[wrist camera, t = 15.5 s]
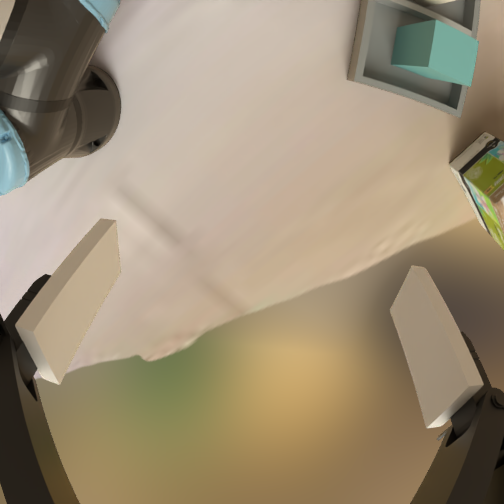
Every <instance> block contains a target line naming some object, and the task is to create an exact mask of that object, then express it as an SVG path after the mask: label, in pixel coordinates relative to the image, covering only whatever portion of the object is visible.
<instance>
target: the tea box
mask: <svg viewBox="0 0 504 504" xmlns="http://www.w3.org/2000/svg"><path fill="white" fill-rule="evenodd" d="M449 165H450V167H451V169H452V171H453V173H454V175H455V177H456V178H457V180H458V182H459V184H460V186H461V188H462V189H463V191H464V193H465V195H466V197H467V199H468V201H469V203H470V205H471V206H472V208H473V210H474V212H475V214H476V216H477V218H478V220H479V222H480V224H481V225H482V226H483V227H484V228H485V230H486V231H487V232H488V233H489V234H490V235H491V236H492V237H493V238H494V239H495V241H496V242H497V243H498V244H499V245H500V246H501V248H502V249H503V250H504V142H503V141H501V140H499V139H497V138H496V137H494V136H492V135H490V134H488V133H486V132H484V133H483V134H482V135H481V136H480V137H479V138H478V139H476V140H475V141H474V142H473V143H472V144H471V145H470V146H469V147H467V148H466V149H465V150H464V151H463V152H462V153H461V154H460V155H459V156H458V157H456V158H455V159H454V160H453V161H452V162H451V163H450V164H449Z"/></svg>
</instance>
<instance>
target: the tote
mask: <svg viewBox="0 0 504 504" xmlns="http://www.w3.org/2000/svg"><path fill="white" fill-rule="evenodd" d="M480 1H481V0H455V1H451V2H447V3H443V4H439V5H435V6H431V7H425V6H421V5H419V4H417V3H416V2H414V1H413V0H361V4H360V11H359V17H358V23H357V29H356V35H355V40H354V46H353V51H352V57H351V62H350V67H349V72H348V78H347V80H350V81H353V82H357V83H361V84H364V85H368V86H371V87H375V88H378V89H381V90H385V91H388V92H391V93H394V94H397V95H400V96H403V97H406V98H409V99H412V100H415V101H417V102H420V103H423V104H426V105H428V106H431V107H433V108H436V109H438V110H441V111H443V112H446V113H448V114H451V115H453V116H456V117H458V118H461V114H462V110H463V106H464V102H465V98H466V93H467V89H468V86H466V85H461V84H456V83H452V82H447V81H441V80H436V79H430V78H426V77H423V76H421V75H418V74H415V73H413V72H410V71H407V70H405V69H402V68H399V67H396V66H393V65H391V59H392V54H393V49H394V43H395V37H396V32H397V27H401V26H406V25H410V24H415V23H420V22H425V21H430V20H438V21H441V22H443V23H445V24H447V25H449V26H451V27H453V28H455V29H457V30H459V31H461V32H463V33H465V34H466V35H468V36H470V37H472V38H474V39H476V38H477V31H478V22H479V13H480Z"/></svg>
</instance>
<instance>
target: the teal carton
mask: <svg viewBox="0 0 504 504" xmlns="http://www.w3.org/2000/svg"><path fill="white" fill-rule="evenodd" d="M478 44H479V41H477V40H476V39H474V38H472V37H470V36H468V35H466V34H465V33H463V32H461V31H459V30H457V29H455V28H453V27H451V26H449V25H447V24H445V23H443V22H441V21H438V20H430V21H425V22H420V23H415V24H410V25H406V26H401V27H397V32H396V37H395V43H394V49H393V54H392V59H391V65H393V66H396V67H399V68H402V69H405V70H407V71H410V72H413V73H415V74H418V75H421V76H423V77H426V78H430V79H436V80H441V81H447V82H452V83H456V84H461V85H466V86H470V87H471V83H472V78H473V73H474V68H475V62H476V56H477V50H478Z"/></svg>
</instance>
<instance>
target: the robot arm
mask: <svg viewBox="0 0 504 504" xmlns="http://www.w3.org/2000/svg"><path fill="white" fill-rule="evenodd" d="M119 5H120V0H0V196H1V195H5V194H7V193H9V192H11V191H12V190H14V189H16V188H18V187H22V186H23V185H25V184H26V182H27V181H29V180H30V179H32V178H33V177H34V176H36V175H37V174H39V173H40V172H42V171H43V170H45V169H46V168H48V167H49V166H51V165H53V164H54V163H56V162H57V161H59V160H61V159H62V158H78V157H84V156H87V155H90V154H92V153H94V152H95V151H97V150H99V149H100V148H102V147H103V146H104V145H106V144H107V143H108V142H109V140H110V139H111V138H112V136H113V135H114V133H115V131H116V129H117V126H118V123H119V119H120V113H121V103H120V97H119V93H118V90H117V87H116V85H115V83H114V82H113V80H112V79H111V77H110V76H109V75H108V74H107V73H106V72H104V71H103V70H101V69H100V68H97V67H95V66H91V65H88V64H89V62H90V60H91V58H92V56H93V54H94V52H95V50H96V48H97V46H98V44H99V42H100V41H101V39H102V37H103V35H104V33H107V32H108V29H109V24H110V22H111V20H112V18H113V17H114V15H115V13H116V11H117V9H118V7H119ZM120 273H121V266H120V257H119V248H118V237H117V226H116V220H109V219H100V220H99V221H98V222H97V223H96V224H95V225H94V226H93V228H92V229H91V230H90V231H89V232H88V233H87V234H86V235H85V237H84V238H83V239H82V240H81V241H80V242H79V243H78V245H77V246H76V247H75V248H74V249H73V250H72V252H71V253H70V254H69V255H68V256H67V257H66V259H65V260H64V261H63V262H62V264H61V265H60V266H59V267H58V268H57V270H56V271H55V272H54V273H53V275H52V276H51V275H47V274H45V275H43V276H42V277H40V278H39V279H37V280H36V281H35V282H34V283H33V284H32V285H31V287H30V288H29V289H28V292H26V293H25V294H24V295H23V297H22V300H21V299H20V301H19V302H18V303H17V305H16V306H15V307H14V309H13V310H12V311H11V313H10V314H9V315H8V317H7V318H6V320H5V321H3V318H2V316H1V314H0V484H1V487H2V490H3V493H4V496H5V499H6V502H7V504H80V503H79V501H78V499H77V497H76V495H75V493H74V490H73V488H72V486H71V484H70V482H69V479H68V477H67V474H66V472H65V470H64V467H63V465H62V462H61V460H60V457H59V455H58V452H57V449H56V447H55V444H54V441H53V438H52V435H51V432H50V429H49V426H48V423H47V420H46V417H45V413H44V410H43V407H42V403H41V399H40V396H39V392H38V388H37V384H36V381H35V379H34V377H33V376H34V374H35V372H36V370H37V369H38V371H39V373H40V375H41V376H42V378H43V379H45V380H48V381H51V382H53V383H56V384H59V385H60V383H61V381H62V379H63V377H64V375H65V373H66V371H67V369H68V367H69V365H70V363H71V361H72V359H73V357H74V355H75V353H76V351H77V349H78V347H79V345H80V344H81V342H82V340H83V338H84V336H85V334H86V332H87V330H88V329H89V327H90V325H91V323H92V321H93V319H94V318H95V316H96V314H97V312H98V311H99V309H100V307H101V305H102V304H103V302H104V300H105V298H106V297H107V295H108V293H109V291H110V290H111V288H112V286H113V285H114V283H115V281H116V280H117V278H118V276H119V275H120ZM390 312H391V315H392V318H393V321H394V324H395V326H396V329H397V332H398V335H399V338H400V341H401V344H402V347H403V350H404V353H405V356H406V358H407V362H408V365H409V369H410V372H411V375H412V378H413V382H414V385H415V388H416V392H417V395H418V399H419V403H420V406H421V410H422V414H423V417H424V421H425V424H426V428H432V427H440V426H442V425H443V424H444V423H446V422H447V420H449V419H450V418H451V421H452V425H451V426H450V427H449V428H448V429H446V430H445V431H444V432H443V433H442V434H441V435H440V436H439V437H438V438H437V440H440V439H441V438H442V437H443V436H445V437H444V439H443V441H442V444H441V446H440V448H439V450H438V452H437V454H436V457H435V459H434V461H433V462H432V465H431V467H430V469H429V470H428V472H427V474H426V476H425V478H424V480H423V482H422V484H421V485H420V487H419V489H418V491H417V493H416V494H415V496H414V498H413V500H412V501H411V503H410V504H504V393H503V392H502V391H501V390H500V389H497V388H492V387H491V384H490V382H489V380H488V378H487V375H486V373H485V370H484V368H483V366H482V364H481V362H480V360H479V357H478V355H477V353H476V352H475V349H474V347H473V345H472V343H471V341H470V339H469V338H468V337H467V336H466V335H465V334H464V333H463V332H460V331H459V329H458V327H457V325H456V323H455V321H454V319H453V317H452V315H451V313H450V311H449V309H448V307H447V306H446V304H445V302H444V300H443V298H442V296H441V295H440V293H439V291H438V289H437V287H436V286H435V284H434V282H433V280H432V279H431V277H430V275H429V273H428V272H427V270H426V268H424V267H419V266H411V268H410V270H409V273H408V275H407V277H406V279H405V281H404V283H403V285H402V287H401V289H400V291H399V293H398V296H397V297H396V299H395V301H394V303H393V305H392V307H391V309H390Z"/></svg>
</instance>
